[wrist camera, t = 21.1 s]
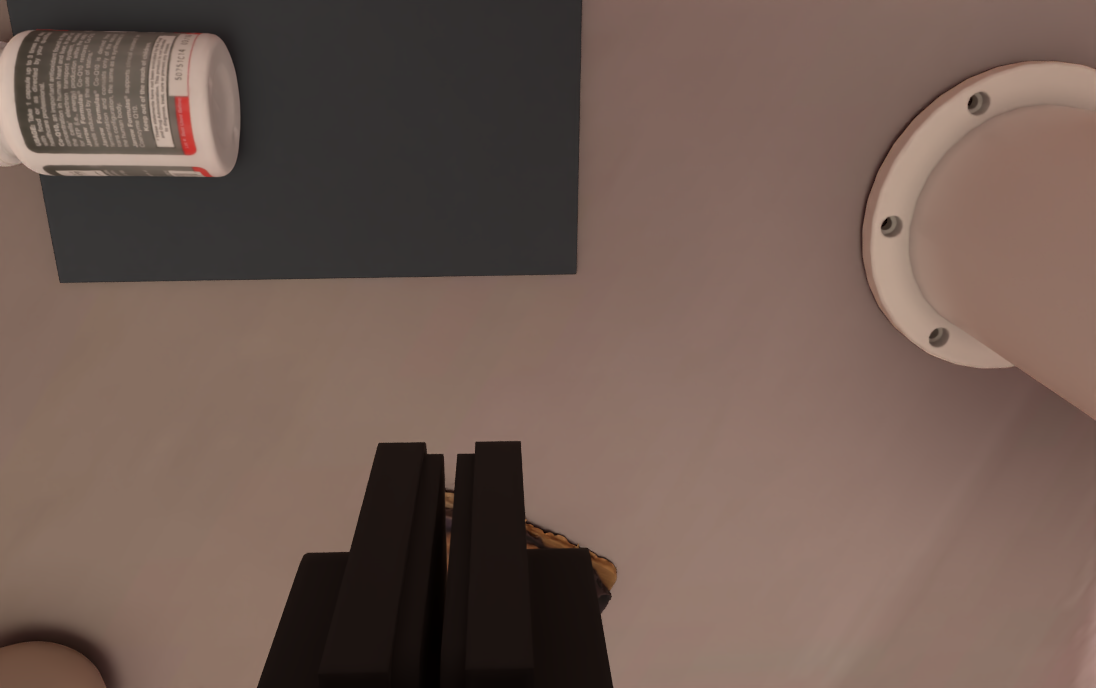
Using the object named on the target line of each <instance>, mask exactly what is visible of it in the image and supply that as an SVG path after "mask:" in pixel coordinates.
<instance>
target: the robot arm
mask: <svg viewBox="0 0 1096 688" xmlns="http://www.w3.org/2000/svg"><path fill="white" fill-rule="evenodd" d="M970 97H972V103H971V105H970V106H969V107H968V102H969V99H970ZM886 218H887V220H888V221H887V224H886V225H885V226H884V227H881V225H882V223H883V221H884V220H885V219H886ZM862 241H863V261H864V266H865V271H866V275H867V280H868V284H869V286H870V288H871V291H872V293H873V295H874V297H875V300H876V302H877V304H878V306H879V308H880V309H881V310H882V312H883V313H884V314H885V316H886V317H887V318H888V320H889V321H890V322H891V324H892V325H893V326H894V327H895V328H896V329H897V330H898V331H900V332H901V333H902V334H903V335H904V336H905V337H906V338H908V339H909V340H910V341H911V342H913V343H914V344H915V345H917V346H918V347H920V348H921V349H922V350H924V351H925V352H927V353H929V354H930V355H932V356H935V357H938V358H940V359H943V360H945V361H948V362H951V363H953V364H957V365H963V366H969V367H975V368H1009V367H1013V366H1016V367H1018V368H1019V369H1020V370H1022V371H1023V372H1025V373H1026V374H1028V375H1029V376H1031V377H1032V378H1034V379H1035V380H1037V381H1038V382H1040V383H1041V384H1043V385H1044V386H1046V387H1047V388H1049V389H1050V390H1052V391H1053V392H1054V393H1056V394H1057V395H1059V396H1060V397H1062V398H1063V399H1065V400H1066V401H1068V402H1069V403H1071V404H1072V405H1074V406H1075V407H1077V408H1078V409H1080V410H1081V411H1083V412H1084V413H1086V414H1087V415H1088V416H1090V417H1091V418H1093V419H1094V420H1096V69H1093V68H1090V67H1087V66H1085V65H1080V64H1073V63H1065V62H1058V61H1025V62H1020V63H1015V64H1010V65H1005V66H1000V67H996V68H993V69H991V70H988V71H986V72H983V73H981V74H978V75H976V76H973V77H971V78H968V79H966V80H965V81H963V82H962V83H960V84H958V85H957V86H955V87H954V88H952V89H950V90H949V91H947V92H946V93H944V94H942V95H941V96H939V97H938V98H937V99H936V100H935V101H934V102H932V103H931V104H930V105H929V106H928V107H927V108H926V109H925V110H923V111H922V112H921V113H920V114H919V115H918V116H917V117H915V119H914V120H913V121H912V122H911V123H910V125H909V126H908V127H907V128H906V130H905V131H904V132H903V133H902V134H901V136H900V137H899V138H898V139H897V141H896V142H895V143H894V145H893V146H892V148H891V150H890V152H889V153H888V155H887V157H886V159H885V160H884V162H883V164H882V165H881V167H880V169H879V171H878V173H877V176H876V179H875V181H874V184H873V187H872V190H871V192H870V195H869V198H868V201H867V206H866V212H865V217H864V223H863V228H862ZM932 331H933V332H932ZM931 332H932V333H931ZM930 333H931V334H930ZM257 688H613V684H612V678H611V672H610V666H609V660H608V655H607V649H606V643H605V637H604V631H603V625H602V619H601V614H600V608H599V602H598V596H597V590H596V584H595V579H594V573H593V567H592V561H591V556H590V551H589V549H588V548H548V549H527V542H526V525H525V507H524V490H523V473H522V455H521V441H498V442H476V443H475V454H457V465H456V477H455V489H454V501H453V513H452V525H451V537H450V549H449V561H448V573H447V543H446V509H445V474H444V456H443V454H427V449H426V443H425V442H412V443H379V444H378V447H377V450H376V454H375V458H374V462H373V466H372V469H371V473H370V477H369V481H368V485H367V488H366V492H365V496H364V500H363V504H362V507H361V511H360V515H359V519H358V523H357V526H356V530H355V534H354V538H353V542H352V545H351V549H350V552H328V553H307V554H305V555H304V556H303V558H302V560H301V562H300V565H299V568H298V571H297V574H296V576H295V579H294V582H293V585H292V588H291V591H290V594H289V597H288V600H287V603H286V605H285V608H284V611H283V614H282V617H281V620H280V623H279V626H278V629H277V631H276V634H275V637H274V640H273V643H272V646H271V649H270V652H269V655H268V657H267V660H266V663H265V666H264V669H263V672H262V675H261V678H260V681H259V683H258V686H257Z"/></svg>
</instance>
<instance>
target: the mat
mask: <svg viewBox="0 0 1096 688" xmlns="http://www.w3.org/2000/svg"><path fill="white" fill-rule="evenodd" d="M7 6H8V11H9V16H10V22H11V27H12V32H13V37H14V36H15V35H17V34H19V33H21V32H24V31H28V30H37V29H38V30H73V31H124V32H168V33H209V34H214V35H217V36H218V37H219V38H221V39H222V41H223V42H224V43H225V45H226V47H227V49H228V51H229V54H230V56H231V59H232V62H233V65H234V68H235V72H236V77H237V83H238V90H239V99H240V136H239V149H238V155H237V160H236V163H235V165H234V167H233V169H232V170H231V172H230V173H228V174H227V175H225V176H221V177H178V176H54V175H44V174H40V173H39V175H40V180H41V186H42V191H43V196H44V202H45V207H46V212H47V217H48V223H49V228H50V233H51V239H52V244H53V249H54V254H55V260H56V265H57V270H58V276H59V281H60V283H79V282H140V281H200V280H260V279H320V278H380V277H440V276H500V275H560V274H576V269H577V219H578V170H579V120H580V71H581V21H582V0H7Z"/></svg>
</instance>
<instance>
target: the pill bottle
mask: <svg viewBox="0 0 1096 688" xmlns="http://www.w3.org/2000/svg"><path fill="white" fill-rule="evenodd" d="M239 136H240V99H239V90H238V83H237V77H236V72H235V68H234V65H233V62H232V59H231V56H230V54H229V51H228V49H227V47H226V45H225V43H224V42H223V41H222V39H221V38H219V37H218V36H217V35H214V34H209V33H168V32H124V31H73V30H38V29H37V30H28V31H24V32H21V33H19V34H17V35H15V36H14V37H13V38H12V39H11V40H10V41H9V42H8V43H6V42H3V41H0V166H4V167H9V166H13V165H17V164H21V163H23V164H24V165H25V166H26V167H28V168H29V169H31V170H33V171H35V172H37V173H40V174H44V175H54V176H178V177H221V176H225V175H227V174H228V173H230V172H231V170H232V169H233V167H234V165H235V163H236V160H237V155H238V149H239Z"/></svg>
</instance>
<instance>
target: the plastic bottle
mask: <svg viewBox="0 0 1096 688" xmlns="http://www.w3.org/2000/svg"><path fill="white" fill-rule="evenodd" d="M0 688H106V686H105V683H104V681H103V679H102V677H101V674H100V672H99V671H98V669H97V668H96V667H95V665H94V664H93V663H92V662H91V661H90V660H89V659H88V658H86V657H85V656H84V655H82V654H81V653H79V652H78V651H76V650H74V649H71V648H69V647H67V646H64V645H61V644H57V643H53V642H44V641H30V642H23V643H18V644H13V645H9V646H6V647H2V648H0Z"/></svg>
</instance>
